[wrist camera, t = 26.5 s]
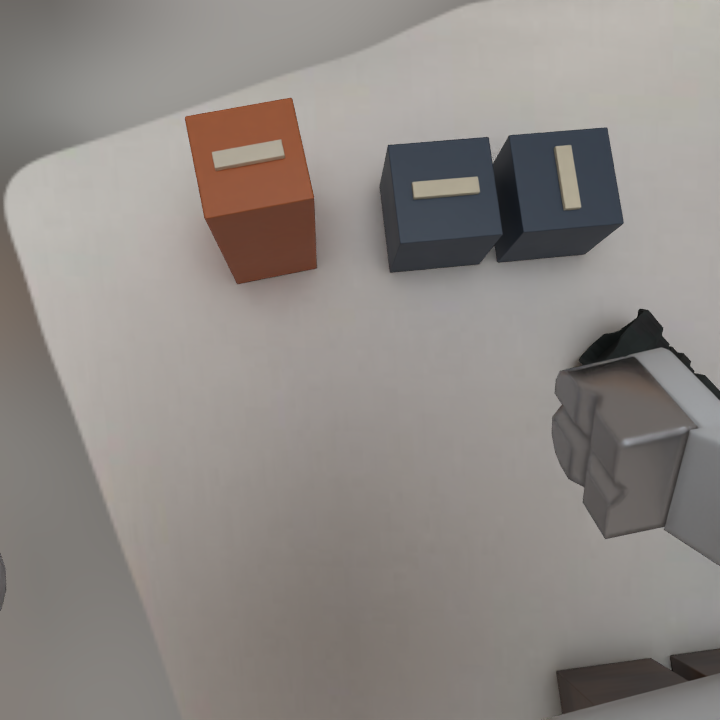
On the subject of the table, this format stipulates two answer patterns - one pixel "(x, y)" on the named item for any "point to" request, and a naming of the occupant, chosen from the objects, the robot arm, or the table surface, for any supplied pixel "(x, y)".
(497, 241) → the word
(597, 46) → the table surface
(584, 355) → the flashlight
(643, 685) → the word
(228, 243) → the i letter block
